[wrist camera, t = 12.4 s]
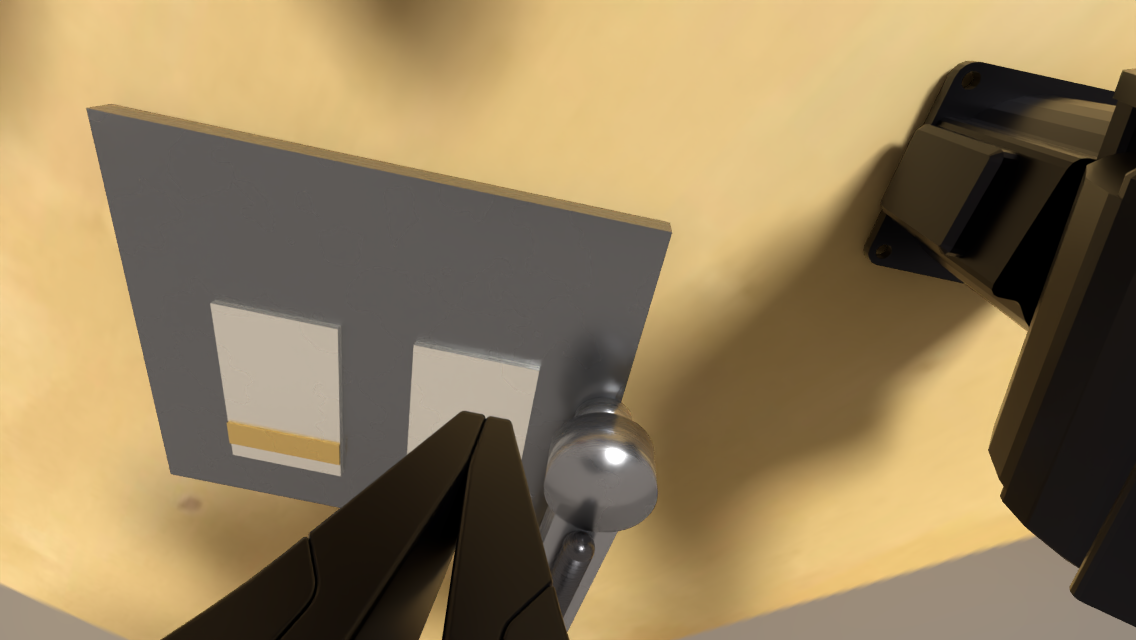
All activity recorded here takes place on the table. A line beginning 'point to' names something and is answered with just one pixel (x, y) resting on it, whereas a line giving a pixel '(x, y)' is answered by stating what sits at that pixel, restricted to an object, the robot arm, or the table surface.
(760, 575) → the table surface
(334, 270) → the panel
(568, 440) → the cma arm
